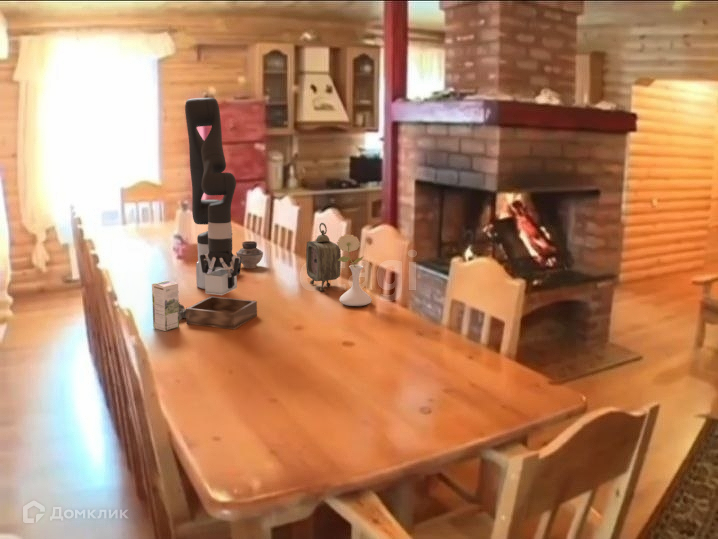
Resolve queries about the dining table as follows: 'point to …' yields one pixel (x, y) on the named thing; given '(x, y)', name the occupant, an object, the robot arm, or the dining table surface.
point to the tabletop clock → (323, 259)
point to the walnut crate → (221, 312)
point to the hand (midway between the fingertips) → (221, 286)
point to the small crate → (218, 282)
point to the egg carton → (182, 312)
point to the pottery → (249, 254)
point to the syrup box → (165, 305)
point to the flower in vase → (353, 273)
